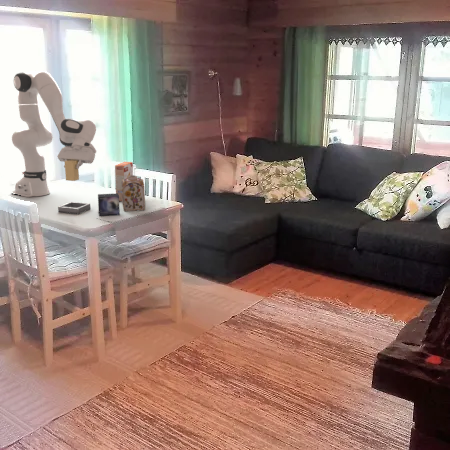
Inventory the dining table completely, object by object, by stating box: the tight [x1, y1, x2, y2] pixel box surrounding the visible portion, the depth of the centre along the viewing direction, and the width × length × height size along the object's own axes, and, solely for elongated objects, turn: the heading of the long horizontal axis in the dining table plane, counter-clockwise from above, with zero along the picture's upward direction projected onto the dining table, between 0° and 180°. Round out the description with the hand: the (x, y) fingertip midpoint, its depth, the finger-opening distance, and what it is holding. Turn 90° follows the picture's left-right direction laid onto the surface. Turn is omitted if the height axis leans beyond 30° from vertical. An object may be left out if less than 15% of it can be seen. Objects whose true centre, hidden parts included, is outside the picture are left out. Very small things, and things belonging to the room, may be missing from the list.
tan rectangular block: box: [64, 160, 80, 182], centre depth 284 cm, size 5×4×10 cm
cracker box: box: [114, 161, 134, 202], centre depth 314 cm, size 14×6×21 cm, turn 168°
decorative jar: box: [121, 174, 146, 212], centre depth 294 cm, size 12×12×18 cm
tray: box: [57, 201, 91, 215], centre depth 289 cm, size 12×12×3 cm
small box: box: [97, 193, 121, 217], centre depth 282 cm, size 11×6×10 cm, turn 107°
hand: (70, 168), depth 283 cm, fingers closed on tan rectangular block, 5 cm apart
